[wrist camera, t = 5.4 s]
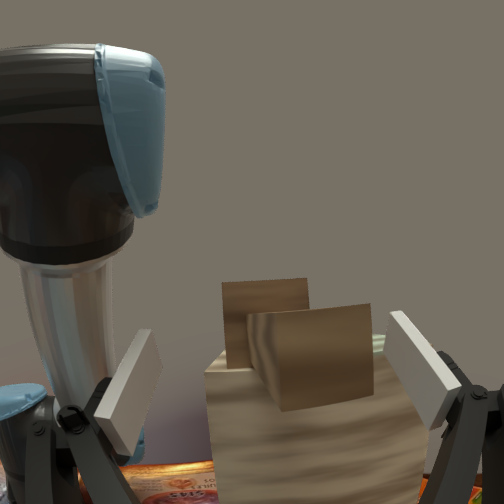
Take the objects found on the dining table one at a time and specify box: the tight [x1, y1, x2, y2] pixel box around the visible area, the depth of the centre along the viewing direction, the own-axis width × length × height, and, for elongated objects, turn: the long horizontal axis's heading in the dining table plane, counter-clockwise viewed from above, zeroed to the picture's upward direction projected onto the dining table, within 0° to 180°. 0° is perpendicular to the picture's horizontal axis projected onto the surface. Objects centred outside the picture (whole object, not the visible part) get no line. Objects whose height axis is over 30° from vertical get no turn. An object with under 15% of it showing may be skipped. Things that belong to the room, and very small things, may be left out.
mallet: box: [222, 278, 374, 412], centre depth 24 cm, size 26×8×8 cm, turn 5°
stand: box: [204, 334, 433, 504], centre depth 30 cm, size 18×22×30 cm
